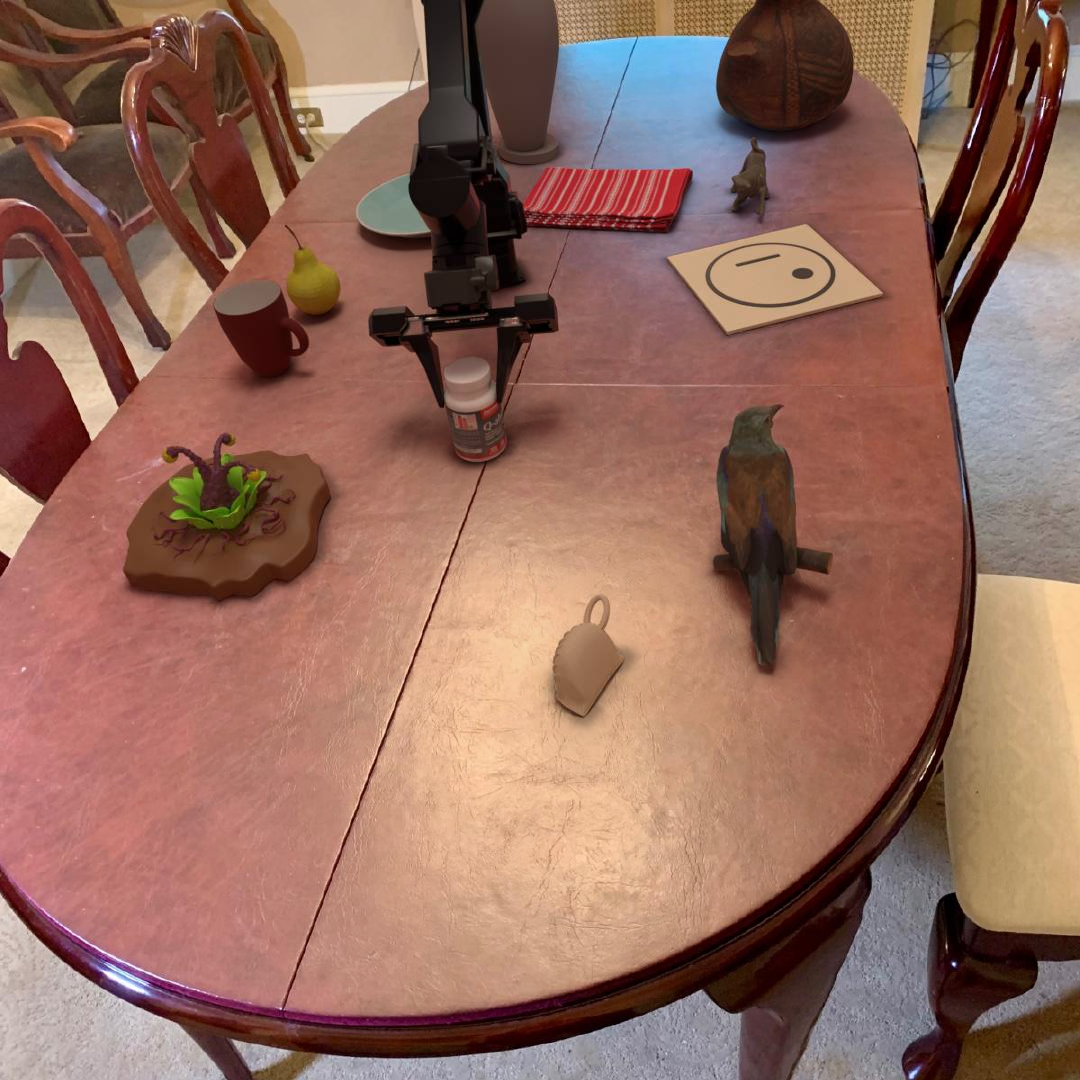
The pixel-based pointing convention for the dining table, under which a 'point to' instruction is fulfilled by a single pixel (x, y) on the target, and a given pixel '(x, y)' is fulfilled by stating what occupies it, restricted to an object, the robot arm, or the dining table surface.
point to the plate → (391, 211)
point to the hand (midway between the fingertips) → (470, 405)
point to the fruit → (312, 282)
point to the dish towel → (607, 198)
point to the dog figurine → (751, 179)
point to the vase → (521, 74)
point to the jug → (785, 65)
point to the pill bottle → (474, 410)
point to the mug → (260, 326)
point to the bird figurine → (761, 522)
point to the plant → (227, 523)
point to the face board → (771, 278)
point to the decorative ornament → (585, 661)
